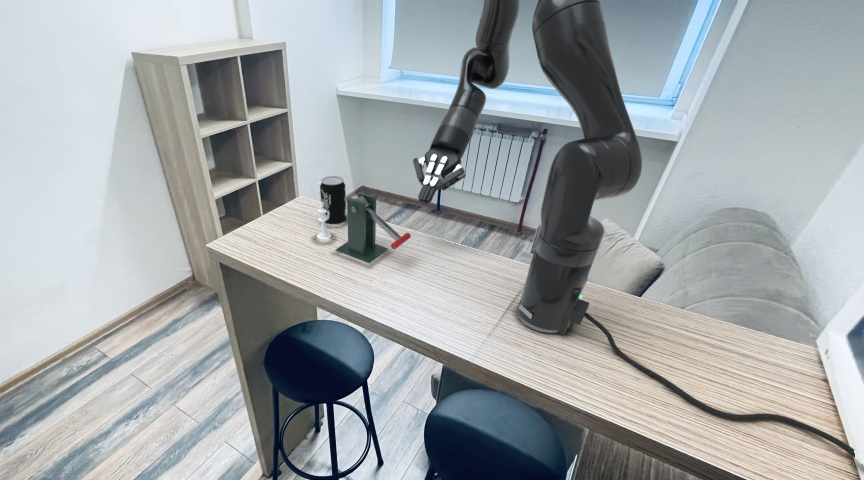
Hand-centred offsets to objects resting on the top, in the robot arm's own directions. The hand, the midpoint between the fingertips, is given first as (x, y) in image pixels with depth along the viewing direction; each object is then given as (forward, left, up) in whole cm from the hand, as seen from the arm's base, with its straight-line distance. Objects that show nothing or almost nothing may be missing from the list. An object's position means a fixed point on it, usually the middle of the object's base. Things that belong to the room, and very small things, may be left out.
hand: (422, 202), depth 90 cm
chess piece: (+23, +8, -13) cm, 28 cm away
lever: (+6, +8, -4) cm, 11 cm away
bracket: (+11, +8, -13) cm, 19 cm away
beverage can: (+27, -1, -13) cm, 30 cm away
